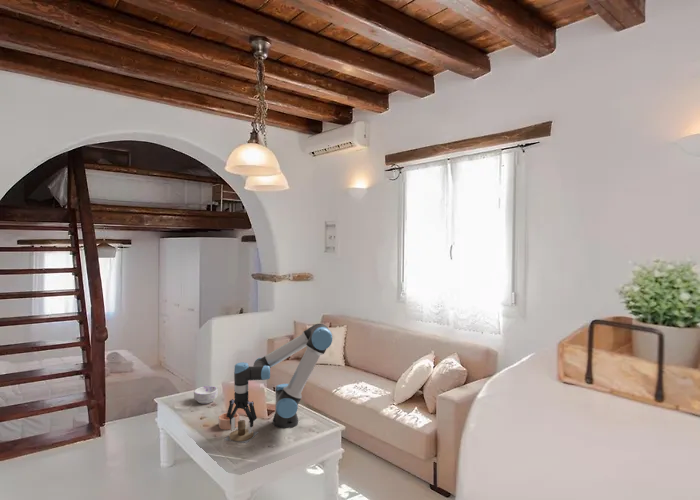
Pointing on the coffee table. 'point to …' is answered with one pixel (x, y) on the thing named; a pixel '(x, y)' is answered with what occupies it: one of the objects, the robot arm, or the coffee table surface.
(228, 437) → the mat
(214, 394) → the paper bowls
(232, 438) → the lid
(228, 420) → the bowl
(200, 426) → the coffee table surface
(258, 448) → the coffee table surface
